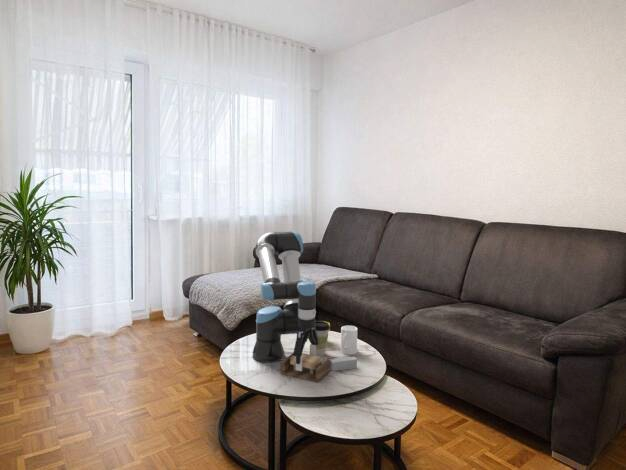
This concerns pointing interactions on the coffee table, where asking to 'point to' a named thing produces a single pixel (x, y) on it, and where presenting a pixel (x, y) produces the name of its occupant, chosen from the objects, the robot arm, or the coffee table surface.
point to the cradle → (305, 370)
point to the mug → (348, 340)
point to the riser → (343, 363)
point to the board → (308, 361)
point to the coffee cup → (321, 336)
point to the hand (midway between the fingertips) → (305, 364)
